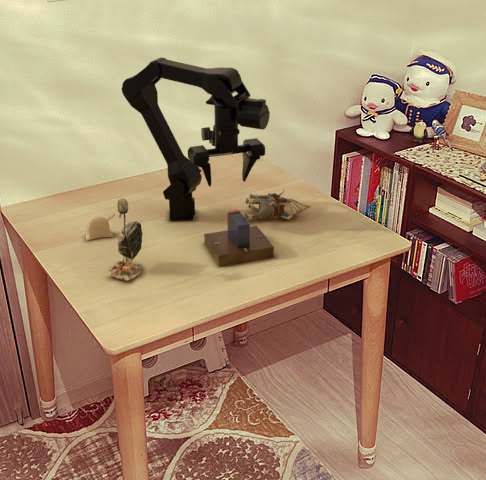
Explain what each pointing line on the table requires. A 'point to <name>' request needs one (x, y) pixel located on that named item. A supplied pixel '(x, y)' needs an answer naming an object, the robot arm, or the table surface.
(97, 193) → the table surface
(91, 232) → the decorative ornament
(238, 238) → the blue block
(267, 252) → the brown slab
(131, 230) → the plant with pod
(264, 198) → the figurine
